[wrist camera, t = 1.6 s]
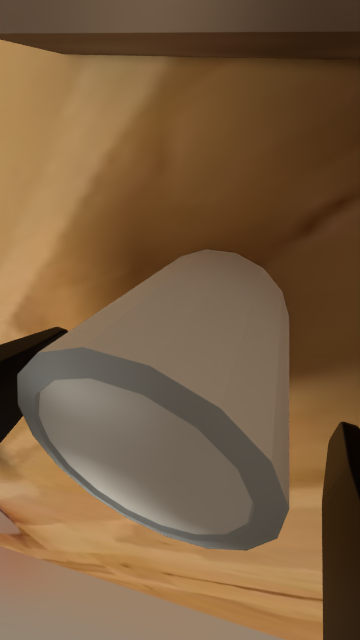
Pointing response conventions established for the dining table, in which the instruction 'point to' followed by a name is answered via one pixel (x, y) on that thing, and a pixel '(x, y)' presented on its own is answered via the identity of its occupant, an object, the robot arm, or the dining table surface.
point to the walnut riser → (187, 27)
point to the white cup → (176, 402)
